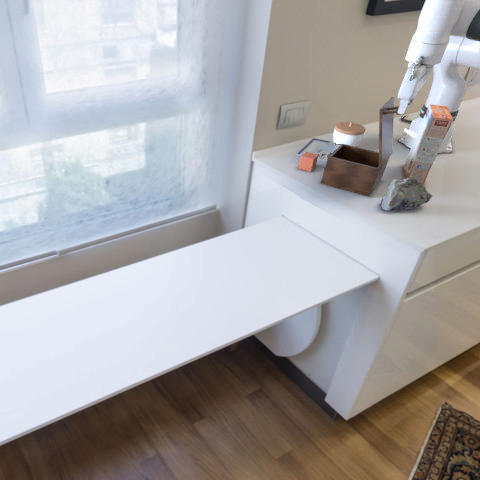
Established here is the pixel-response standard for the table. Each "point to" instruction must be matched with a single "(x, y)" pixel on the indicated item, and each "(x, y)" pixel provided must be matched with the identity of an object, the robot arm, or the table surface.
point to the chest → (353, 169)
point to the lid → (386, 130)
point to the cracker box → (428, 142)
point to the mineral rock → (405, 195)
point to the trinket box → (348, 133)
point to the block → (308, 161)
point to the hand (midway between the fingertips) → (404, 108)
